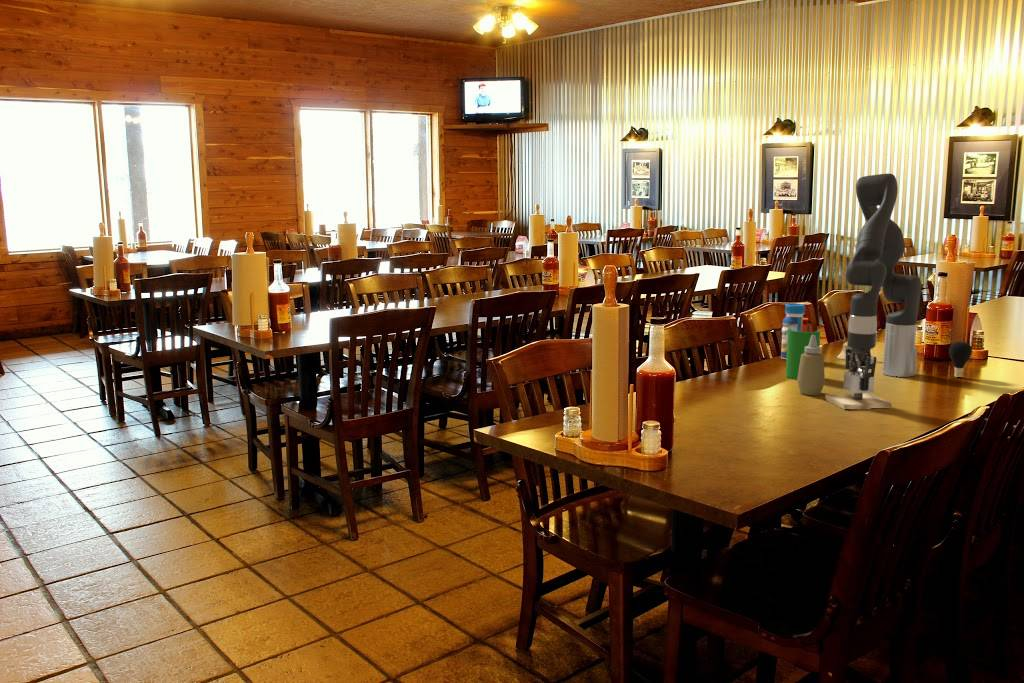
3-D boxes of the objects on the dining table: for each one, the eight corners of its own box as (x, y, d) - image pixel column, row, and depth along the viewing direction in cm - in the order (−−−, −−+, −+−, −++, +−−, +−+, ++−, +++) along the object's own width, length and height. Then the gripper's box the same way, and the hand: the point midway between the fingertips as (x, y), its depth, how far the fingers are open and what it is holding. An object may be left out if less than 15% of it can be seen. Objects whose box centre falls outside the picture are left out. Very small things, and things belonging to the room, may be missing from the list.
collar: (863, 387, 259) (864, 371, 258) (873, 392, 253) (874, 375, 253) (843, 388, 259) (844, 371, 258) (853, 393, 253) (854, 376, 252)
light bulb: (947, 378, 288) (950, 342, 286) (946, 374, 294) (949, 339, 292) (970, 380, 286) (973, 343, 283) (968, 376, 292) (971, 340, 290)
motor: (814, 374, 296) (818, 315, 292) (821, 380, 287) (824, 319, 284) (783, 374, 297) (786, 315, 293) (789, 380, 288) (792, 319, 285)
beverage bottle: (807, 361, 317) (810, 306, 313) (784, 361, 317) (786, 306, 314) (800, 356, 325) (803, 302, 322) (777, 356, 325) (780, 303, 322)
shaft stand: (870, 398, 263) (872, 368, 262) (891, 408, 252) (893, 377, 250) (825, 399, 262) (826, 369, 260) (844, 409, 250) (846, 378, 249)
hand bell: (834, 355, 327) (837, 313, 324) (858, 356, 326) (861, 313, 323) (839, 360, 319) (842, 316, 316) (863, 360, 318) (866, 316, 315)
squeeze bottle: (825, 391, 272) (829, 334, 268) (822, 397, 264) (826, 338, 261) (798, 389, 275) (801, 332, 272) (794, 395, 268) (797, 336, 265)
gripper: (887, 334, 246) (883, 393, 249) (862, 326, 260) (858, 382, 263) (861, 335, 246) (857, 394, 249) (838, 326, 260) (834, 382, 263)
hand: (858, 387), depth 256 cm, fingers closed on collar, 6 cm apart
